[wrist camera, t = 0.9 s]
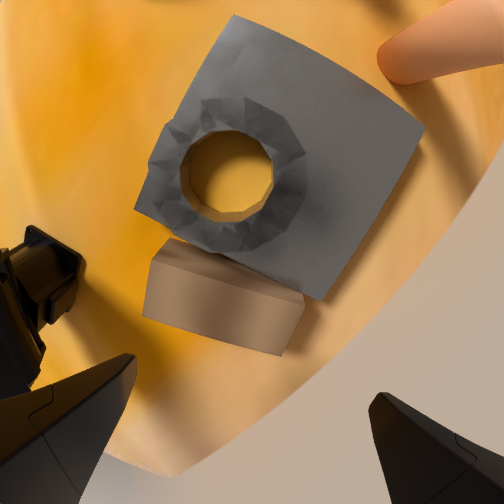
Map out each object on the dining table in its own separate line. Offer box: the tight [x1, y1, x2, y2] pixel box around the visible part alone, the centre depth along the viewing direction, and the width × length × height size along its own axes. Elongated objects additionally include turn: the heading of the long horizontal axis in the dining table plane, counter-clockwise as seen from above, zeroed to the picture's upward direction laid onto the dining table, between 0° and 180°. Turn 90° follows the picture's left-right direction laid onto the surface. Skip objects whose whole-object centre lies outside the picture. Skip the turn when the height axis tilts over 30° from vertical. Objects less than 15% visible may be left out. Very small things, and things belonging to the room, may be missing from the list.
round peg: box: [377, 0, 504, 85], centre depth 11 cm, size 4×4×12 cm
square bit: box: [142, 238, 306, 357], centre depth 21 cm, size 10×4×4 cm, turn 72°
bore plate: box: [134, 14, 426, 302], centre depth 18 cm, size 14×14×2 cm
